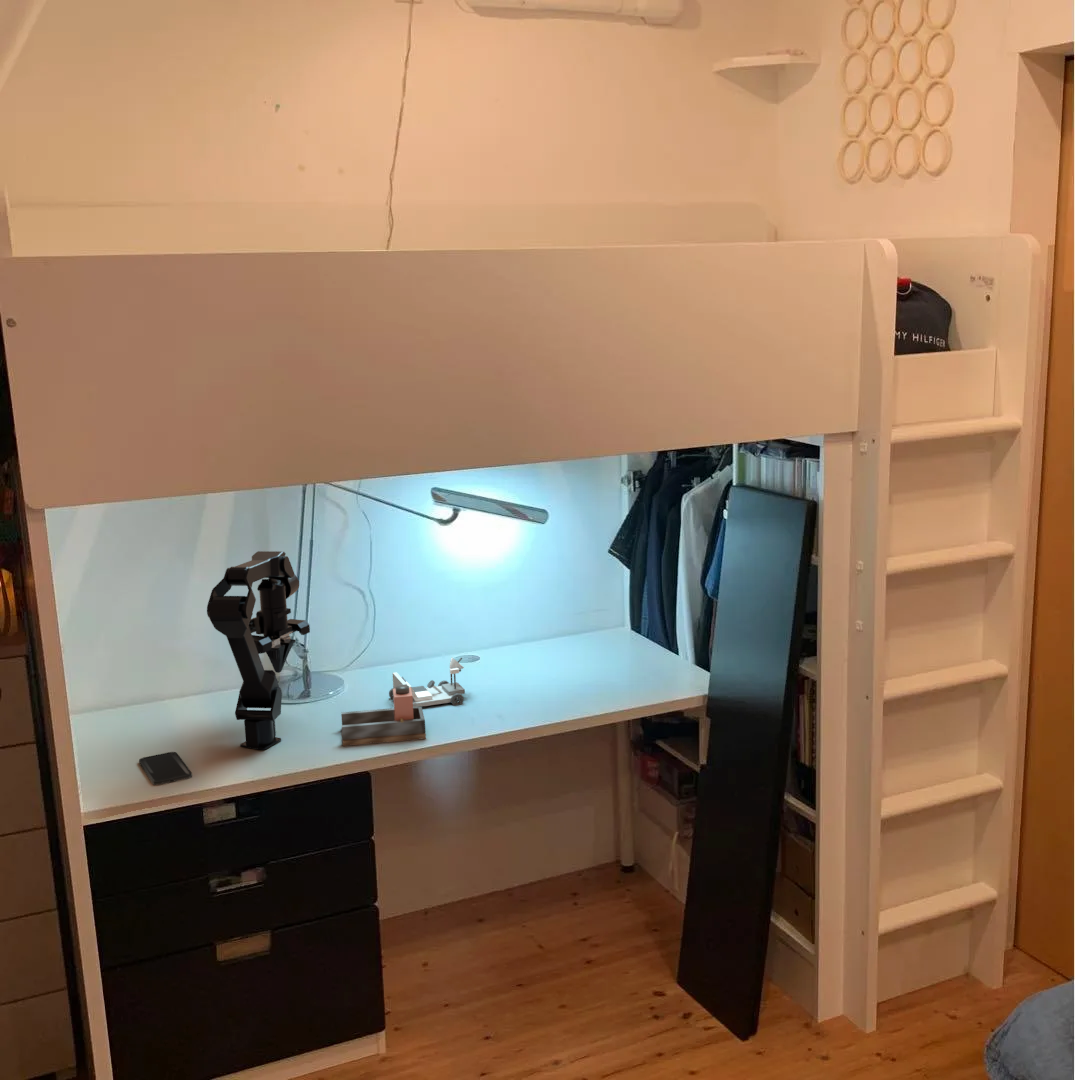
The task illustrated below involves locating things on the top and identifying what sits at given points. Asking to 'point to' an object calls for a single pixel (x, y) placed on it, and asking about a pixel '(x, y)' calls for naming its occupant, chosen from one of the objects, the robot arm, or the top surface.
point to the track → (381, 726)
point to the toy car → (434, 689)
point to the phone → (165, 768)
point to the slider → (403, 703)
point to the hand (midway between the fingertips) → (278, 672)
